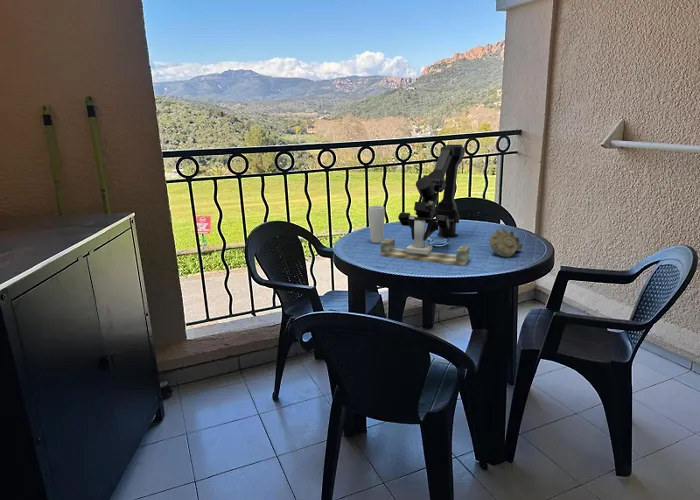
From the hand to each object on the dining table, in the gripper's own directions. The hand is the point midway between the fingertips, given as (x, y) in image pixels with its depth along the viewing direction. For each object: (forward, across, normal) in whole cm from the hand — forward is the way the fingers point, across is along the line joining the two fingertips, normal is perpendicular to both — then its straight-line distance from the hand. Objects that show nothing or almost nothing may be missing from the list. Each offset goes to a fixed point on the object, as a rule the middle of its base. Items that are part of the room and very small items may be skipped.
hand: (418, 239), depth 162 cm
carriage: (+2, 0, +4) cm, 5 cm away
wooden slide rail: (+4, +2, +6) cm, 7 cm away
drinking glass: (-6, -24, +16) cm, 29 cm away
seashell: (-8, +28, +18) cm, 35 cm away
